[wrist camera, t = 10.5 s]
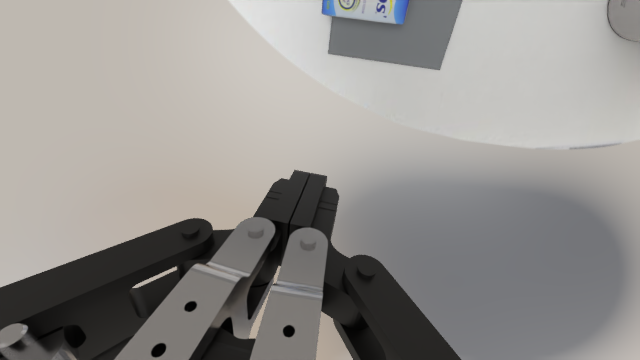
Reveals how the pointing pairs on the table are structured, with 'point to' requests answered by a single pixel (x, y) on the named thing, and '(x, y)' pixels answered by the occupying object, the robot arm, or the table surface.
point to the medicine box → (368, 10)
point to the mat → (399, 35)
